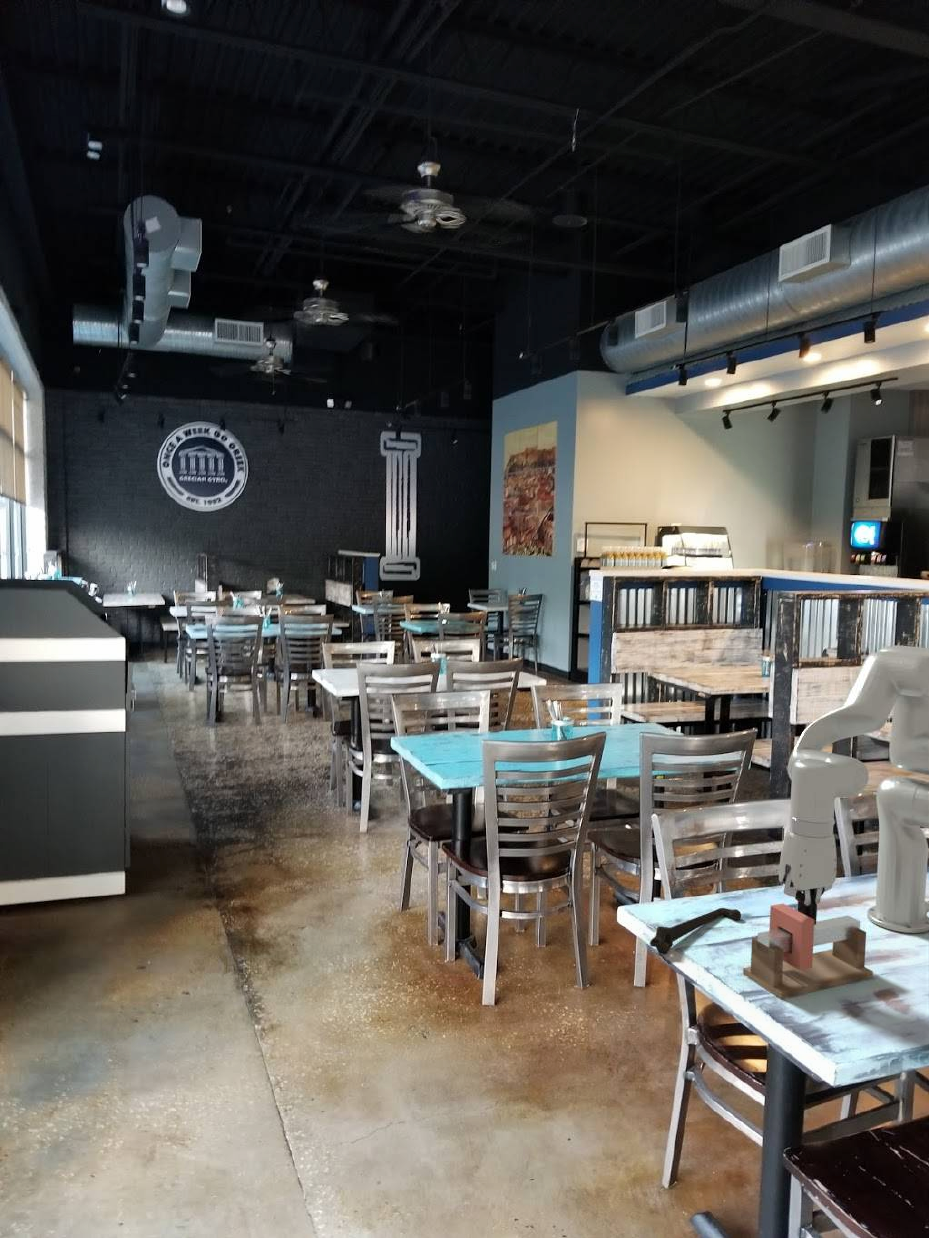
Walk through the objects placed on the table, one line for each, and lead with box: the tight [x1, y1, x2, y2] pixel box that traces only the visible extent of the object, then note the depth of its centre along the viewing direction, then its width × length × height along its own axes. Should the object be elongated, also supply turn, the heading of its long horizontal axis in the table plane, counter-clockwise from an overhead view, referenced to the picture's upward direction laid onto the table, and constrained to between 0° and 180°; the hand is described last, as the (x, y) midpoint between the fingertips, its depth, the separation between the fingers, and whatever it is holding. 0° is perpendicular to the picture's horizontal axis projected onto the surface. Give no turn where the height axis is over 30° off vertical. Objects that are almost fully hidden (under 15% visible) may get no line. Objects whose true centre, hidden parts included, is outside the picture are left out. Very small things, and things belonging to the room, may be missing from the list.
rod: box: [757, 915, 861, 953], centre depth 170 cm, size 22×3×3 cm, turn 113°
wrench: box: [649, 907, 742, 955], centre depth 187 cm, size 5×5×30 cm
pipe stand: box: [742, 928, 874, 1000], centre depth 170 cm, size 22×10×8 cm, turn 113°
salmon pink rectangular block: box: [769, 903, 814, 970], centre depth 168 cm, size 3×8×9 cm, turn 23°
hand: (806, 922), depth 169 cm, fingers closed
